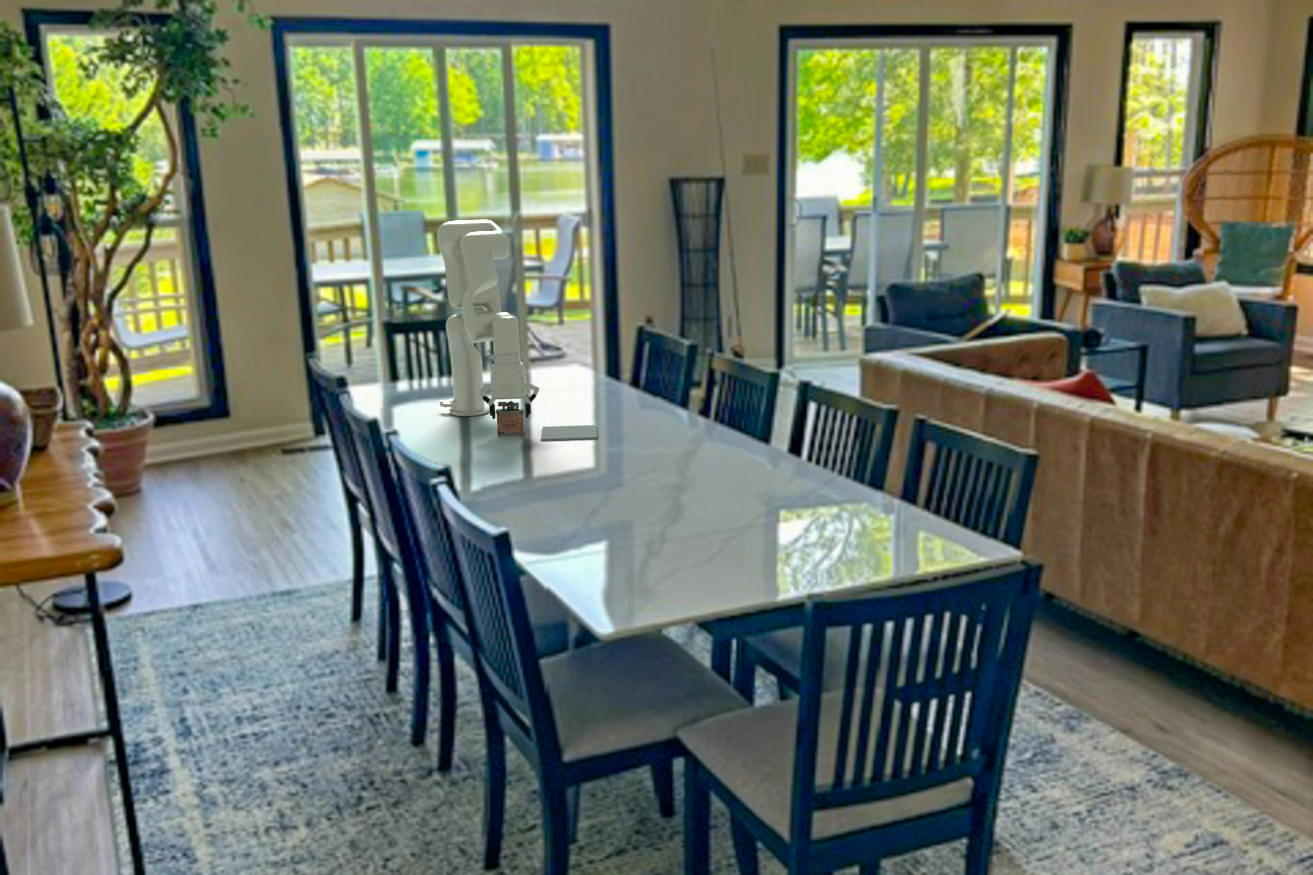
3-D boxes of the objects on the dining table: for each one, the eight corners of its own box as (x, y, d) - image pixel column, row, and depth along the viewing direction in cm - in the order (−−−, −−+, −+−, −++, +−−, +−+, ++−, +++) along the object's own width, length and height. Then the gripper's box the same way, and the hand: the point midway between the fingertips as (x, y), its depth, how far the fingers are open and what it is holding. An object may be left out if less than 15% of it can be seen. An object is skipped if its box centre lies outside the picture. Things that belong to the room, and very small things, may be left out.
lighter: (525, 433, 330) (524, 400, 328) (523, 436, 327) (521, 402, 324) (498, 433, 331) (496, 400, 328) (495, 436, 327) (494, 402, 325)
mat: (540, 441, 321) (540, 439, 321) (542, 428, 335) (542, 426, 335) (597, 439, 322) (597, 437, 322) (596, 426, 336) (596, 425, 336)
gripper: (475, 362, 319) (479, 421, 323) (537, 359, 320) (540, 418, 324) (477, 358, 326) (481, 416, 330) (538, 355, 327) (541, 413, 331)
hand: (510, 417), depth 327 cm, fingers open, 9 cm apart
